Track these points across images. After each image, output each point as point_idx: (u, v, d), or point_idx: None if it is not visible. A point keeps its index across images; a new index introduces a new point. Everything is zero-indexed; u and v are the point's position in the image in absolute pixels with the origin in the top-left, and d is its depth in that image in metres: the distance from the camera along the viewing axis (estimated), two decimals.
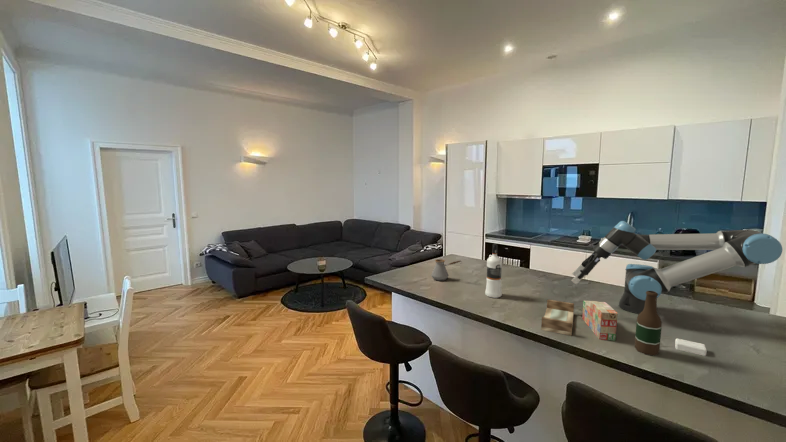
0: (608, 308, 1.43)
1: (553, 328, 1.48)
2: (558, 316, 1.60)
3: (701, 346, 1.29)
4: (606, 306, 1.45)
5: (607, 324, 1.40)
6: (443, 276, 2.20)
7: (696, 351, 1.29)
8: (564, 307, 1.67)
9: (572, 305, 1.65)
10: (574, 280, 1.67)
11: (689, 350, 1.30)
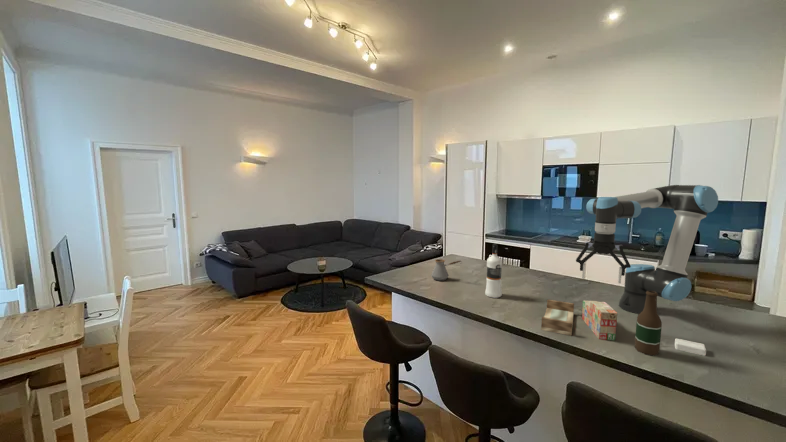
0: (608, 308, 1.43)
1: (553, 328, 1.48)
2: (558, 316, 1.60)
3: (701, 346, 1.29)
4: (606, 306, 1.45)
5: (607, 324, 1.40)
6: (443, 276, 2.20)
7: (695, 351, 1.29)
8: (564, 307, 1.67)
9: (572, 305, 1.65)
10: (620, 280, 1.44)
11: (689, 350, 1.30)
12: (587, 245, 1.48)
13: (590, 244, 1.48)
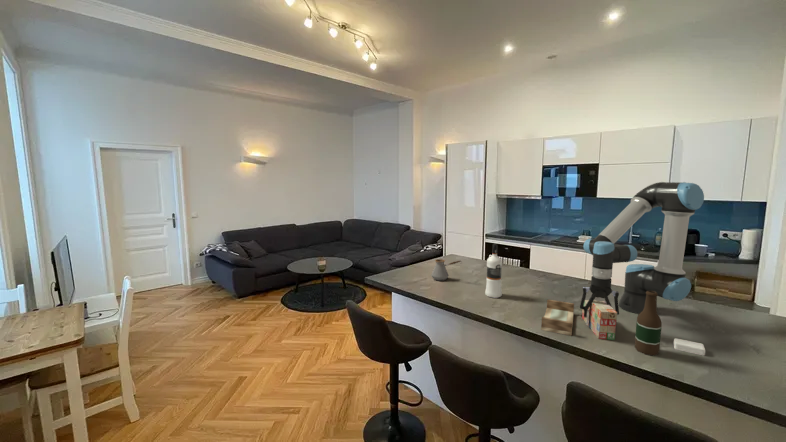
0: (607, 307, 1.43)
1: (553, 328, 1.48)
2: (558, 316, 1.60)
3: (700, 346, 1.30)
4: (605, 305, 1.46)
5: (606, 323, 1.40)
6: (443, 276, 2.20)
7: (695, 351, 1.29)
8: (564, 307, 1.67)
9: (572, 305, 1.65)
10: None
11: (688, 350, 1.30)
12: (585, 290, 1.50)
13: (587, 288, 1.50)
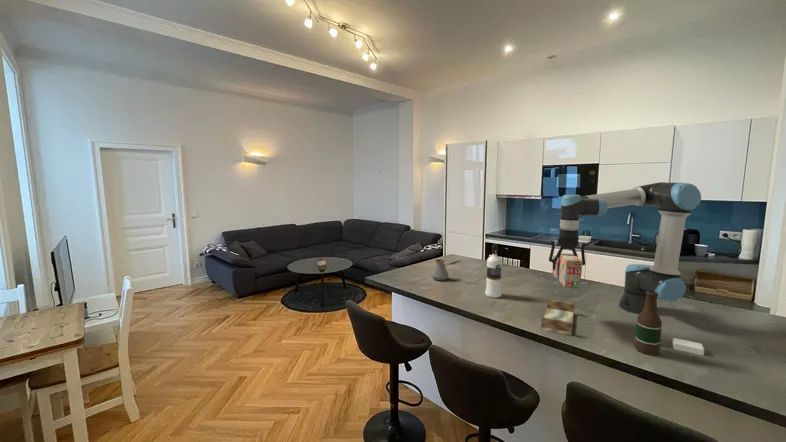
0: (574, 257, 1.47)
1: (553, 328, 1.48)
2: (558, 316, 1.60)
3: (699, 346, 1.30)
4: (572, 256, 1.50)
5: (572, 272, 1.44)
6: (443, 276, 2.20)
7: (694, 351, 1.29)
8: (564, 307, 1.67)
9: (572, 305, 1.65)
10: None
11: (687, 350, 1.30)
12: (553, 243, 1.54)
13: (556, 241, 1.54)
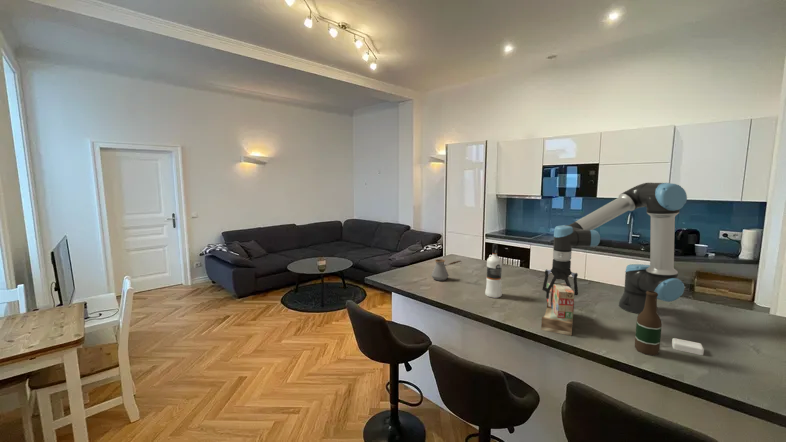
0: (566, 288, 1.50)
1: (553, 328, 1.48)
2: None
3: (698, 345, 1.30)
4: (565, 286, 1.53)
5: (564, 303, 1.47)
6: (443, 276, 2.20)
7: (693, 351, 1.29)
8: None
9: None
10: None
11: (686, 350, 1.30)
12: (546, 273, 1.57)
13: (549, 271, 1.58)
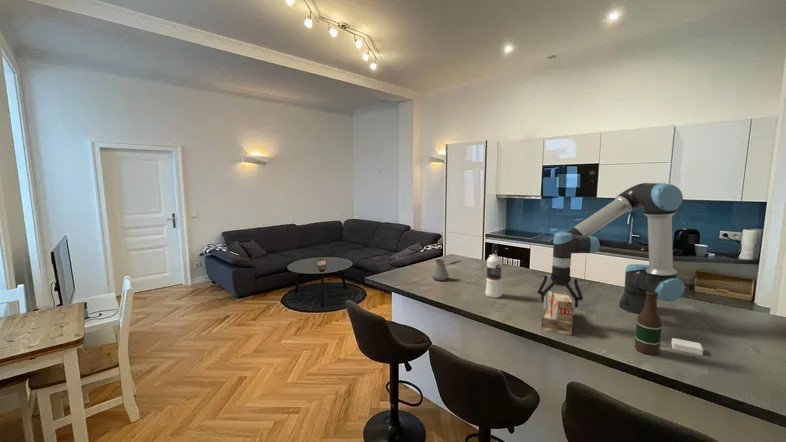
0: (566, 297, 1.51)
1: (553, 328, 1.48)
2: None
3: (697, 345, 1.30)
4: (564, 295, 1.53)
5: (563, 312, 1.48)
6: (443, 276, 2.20)
7: (693, 351, 1.29)
8: None
9: None
10: (574, 311, 1.54)
11: (686, 350, 1.31)
12: (546, 277, 1.58)
13: (548, 276, 1.58)
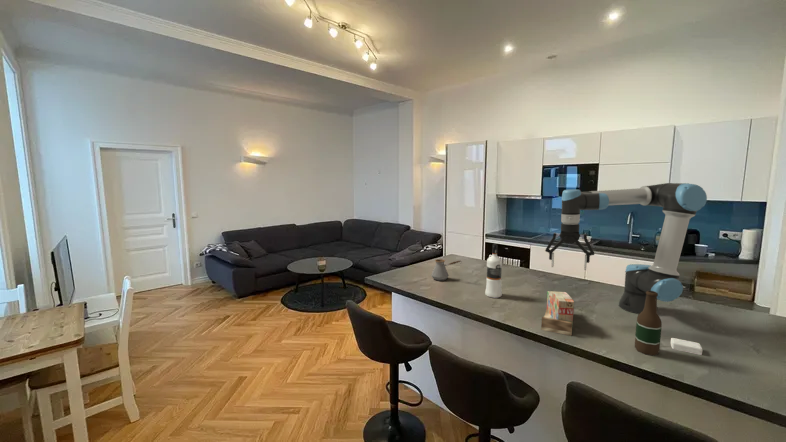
0: (566, 297, 1.51)
1: (553, 328, 1.48)
2: None
3: (697, 345, 1.30)
4: (565, 295, 1.53)
5: (564, 312, 1.48)
6: (443, 276, 2.20)
7: (692, 351, 1.29)
8: None
9: None
10: None
11: (685, 349, 1.31)
12: (555, 235, 1.58)
13: (557, 234, 1.58)
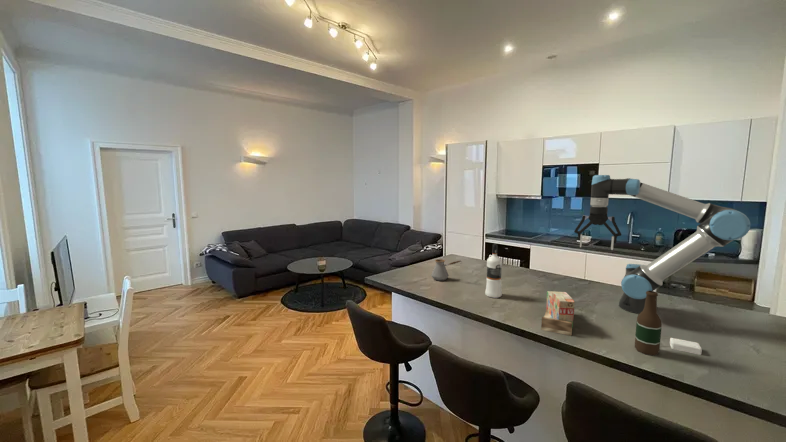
0: (567, 297, 1.51)
1: (553, 328, 1.48)
2: None
3: (696, 345, 1.30)
4: (565, 295, 1.53)
5: (565, 312, 1.48)
6: (443, 276, 2.20)
7: (691, 350, 1.30)
8: None
9: None
10: None
11: (685, 349, 1.31)
12: (584, 217, 1.70)
13: (586, 217, 1.70)
